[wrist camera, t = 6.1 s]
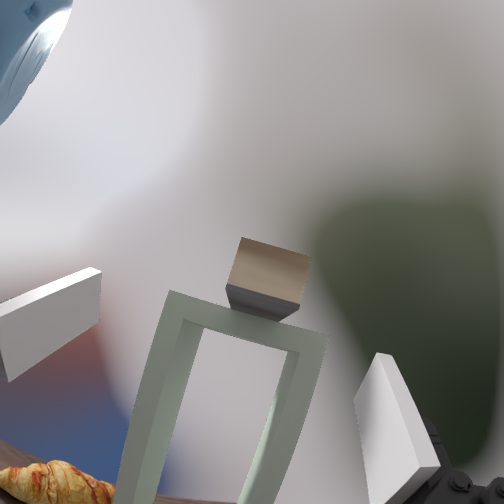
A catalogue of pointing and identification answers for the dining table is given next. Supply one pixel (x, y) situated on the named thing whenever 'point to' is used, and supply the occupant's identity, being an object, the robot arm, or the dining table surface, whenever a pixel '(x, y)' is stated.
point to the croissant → (55, 485)
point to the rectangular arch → (174, 383)
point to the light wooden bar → (267, 280)
